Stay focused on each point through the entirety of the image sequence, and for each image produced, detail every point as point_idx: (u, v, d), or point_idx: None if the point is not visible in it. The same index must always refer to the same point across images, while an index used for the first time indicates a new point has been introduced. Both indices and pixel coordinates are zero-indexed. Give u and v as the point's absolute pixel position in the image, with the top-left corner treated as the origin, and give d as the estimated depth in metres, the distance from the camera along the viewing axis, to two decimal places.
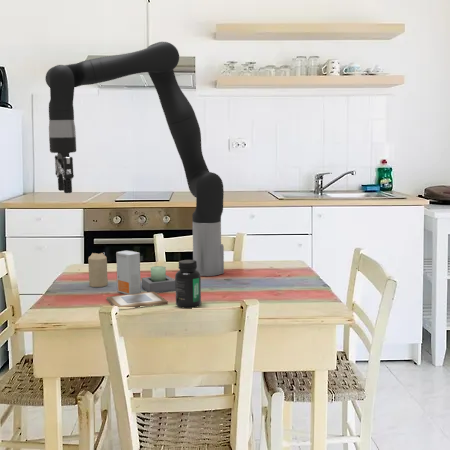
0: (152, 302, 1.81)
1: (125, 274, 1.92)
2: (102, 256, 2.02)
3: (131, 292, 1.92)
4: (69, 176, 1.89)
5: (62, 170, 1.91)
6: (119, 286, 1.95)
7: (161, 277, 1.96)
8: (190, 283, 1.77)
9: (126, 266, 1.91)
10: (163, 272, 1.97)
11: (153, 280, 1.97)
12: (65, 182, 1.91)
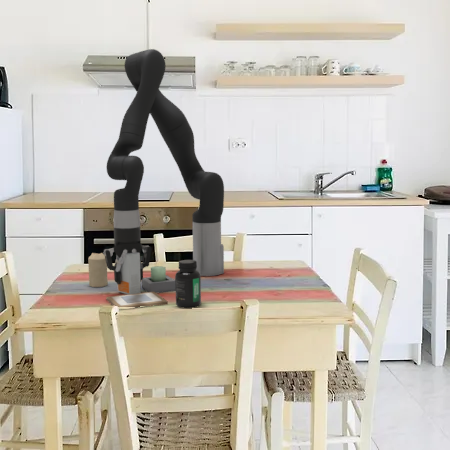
0: (152, 302, 1.81)
1: (125, 274, 1.92)
2: (102, 256, 2.02)
3: (131, 292, 1.92)
4: None
5: (140, 260, 1.94)
6: (119, 286, 1.95)
7: (161, 277, 1.96)
8: (190, 283, 1.77)
9: (126, 265, 1.91)
10: (163, 272, 1.97)
11: (153, 280, 1.97)
12: (141, 271, 1.95)
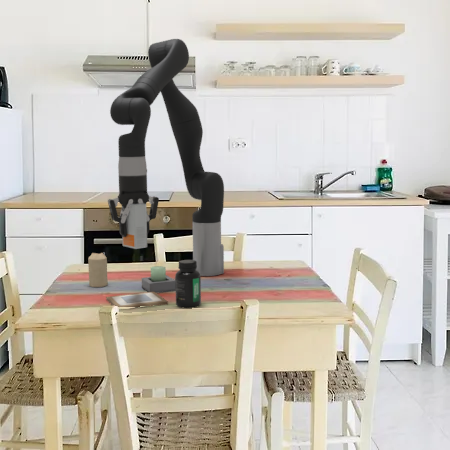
0: (152, 302, 1.81)
1: (130, 226, 1.80)
2: (102, 256, 2.02)
3: (136, 245, 1.79)
4: None
5: None
6: (124, 240, 1.82)
7: (161, 277, 1.96)
8: (190, 283, 1.77)
9: (132, 217, 1.79)
10: (163, 272, 1.97)
11: (153, 280, 1.97)
12: (148, 223, 1.82)
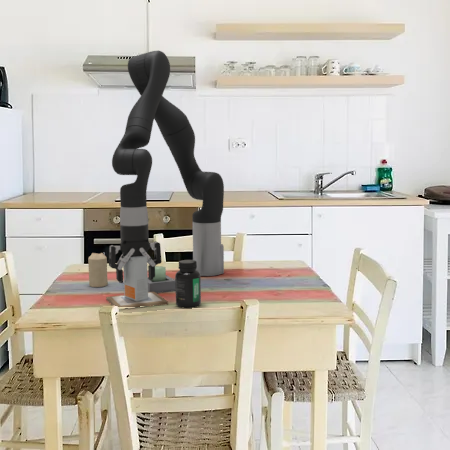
0: (152, 302, 1.81)
1: (131, 279, 1.82)
2: (102, 256, 2.02)
3: (137, 298, 1.82)
4: None
5: (150, 257, 1.83)
6: (126, 291, 1.85)
7: (161, 277, 1.96)
8: (190, 283, 1.77)
9: (132, 270, 1.81)
10: (163, 272, 1.97)
11: (153, 280, 1.97)
12: (153, 268, 1.85)
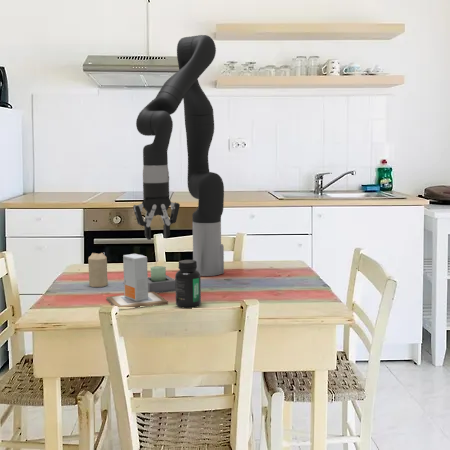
0: (152, 302, 1.81)
1: (131, 279, 1.82)
2: (102, 256, 2.02)
3: (137, 298, 1.82)
4: None
5: None
6: (126, 291, 1.85)
7: (161, 277, 1.96)
8: (190, 283, 1.77)
9: (132, 270, 1.81)
10: (163, 272, 1.97)
11: (153, 280, 1.97)
12: (168, 227, 1.97)
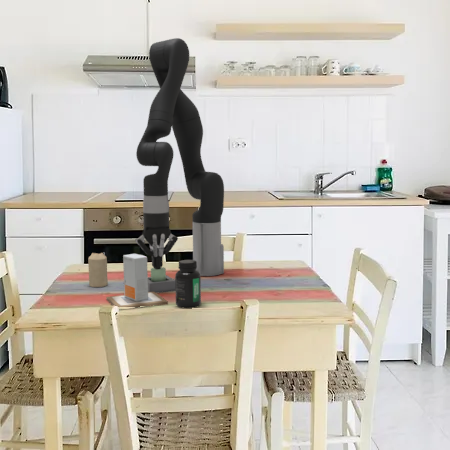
0: (152, 302, 1.81)
1: (131, 279, 1.82)
2: (102, 256, 2.02)
3: (137, 298, 1.82)
4: None
5: None
6: (126, 291, 1.85)
7: (161, 278, 1.96)
8: (190, 283, 1.77)
9: (132, 270, 1.81)
10: (163, 273, 1.97)
11: (153, 281, 1.97)
12: (161, 258, 1.97)
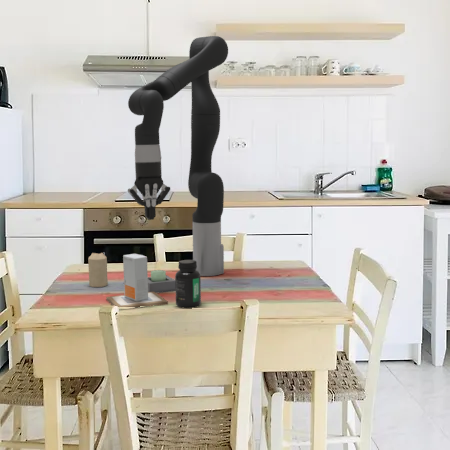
0: (152, 302, 1.81)
1: (131, 279, 1.82)
2: (102, 256, 2.02)
3: (137, 298, 1.82)
4: None
5: None
6: (126, 291, 1.85)
7: None
8: (190, 283, 1.77)
9: (132, 270, 1.81)
10: (163, 276, 1.97)
11: None
12: (154, 208, 1.96)
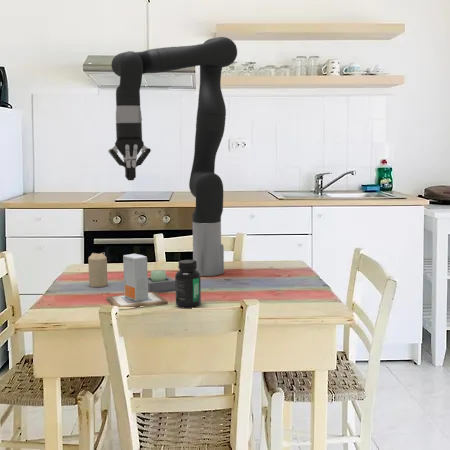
0: (152, 302, 1.81)
1: (131, 279, 1.82)
2: (102, 256, 2.02)
3: (137, 298, 1.82)
4: None
5: None
6: (126, 291, 1.85)
7: None
8: (190, 283, 1.77)
9: (132, 270, 1.81)
10: (163, 276, 1.97)
11: None
12: (134, 169, 1.99)
